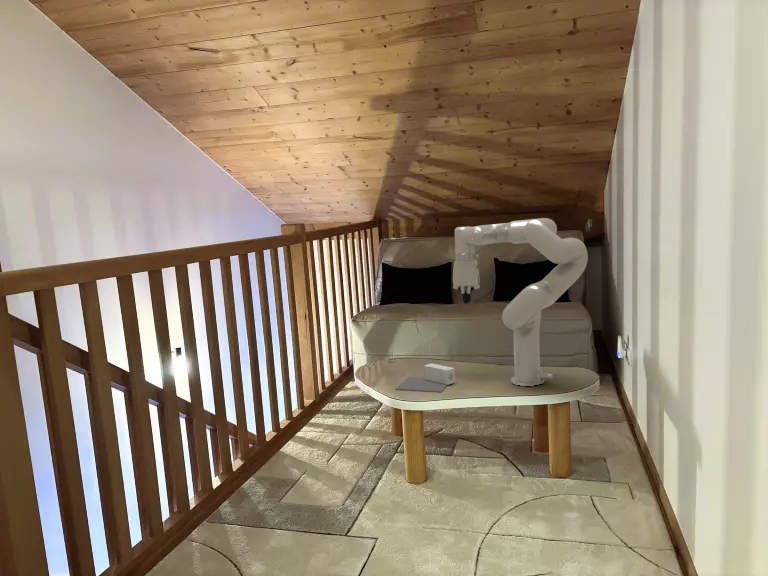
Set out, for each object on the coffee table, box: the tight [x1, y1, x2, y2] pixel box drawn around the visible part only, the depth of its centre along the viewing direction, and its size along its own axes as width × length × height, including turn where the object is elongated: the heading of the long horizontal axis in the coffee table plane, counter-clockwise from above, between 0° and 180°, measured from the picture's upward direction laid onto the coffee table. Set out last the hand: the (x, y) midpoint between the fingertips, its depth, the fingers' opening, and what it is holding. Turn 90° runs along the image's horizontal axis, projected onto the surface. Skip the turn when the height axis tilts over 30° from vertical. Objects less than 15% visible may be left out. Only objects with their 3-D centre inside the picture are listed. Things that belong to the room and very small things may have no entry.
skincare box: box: [423, 362, 456, 386], centre depth 226 cm, size 6×4×12 cm
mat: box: [395, 376, 448, 393], centre depth 225 cm, size 18×16×1 cm
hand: (466, 303), depth 232 cm, fingers closed
